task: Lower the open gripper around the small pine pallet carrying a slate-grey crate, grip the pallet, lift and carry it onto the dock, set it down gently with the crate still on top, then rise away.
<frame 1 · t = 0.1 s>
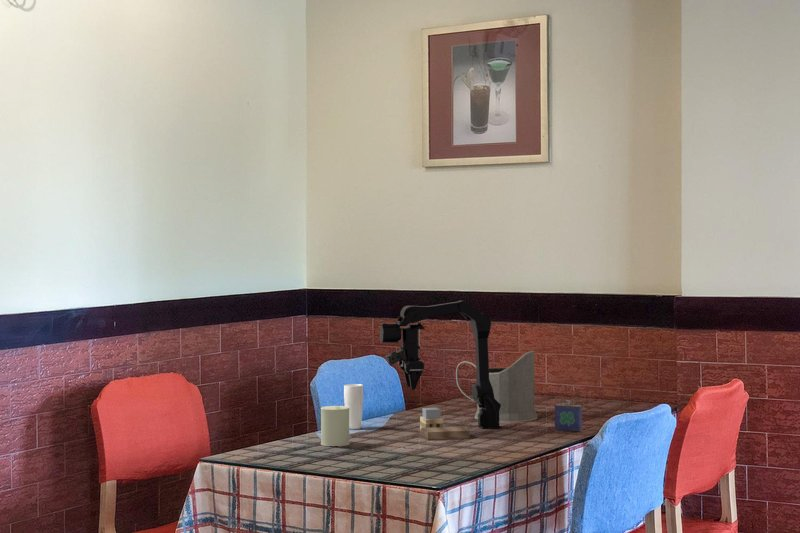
hand: (410, 388, 338), 14 cm above the table, tool pointing down, fingers open, 9 cm apart
crate: (431, 417, 334), point 5 cm above the table, touching pallet
dock: (445, 436, 325), on the table
can: (335, 444, 313), on the table
drinking glass: (353, 428, 344), on the table
pallet: (431, 432, 334), on the table, touching crate
pitcher: (495, 417, 369), on the table
flask: (568, 432, 334), on the table
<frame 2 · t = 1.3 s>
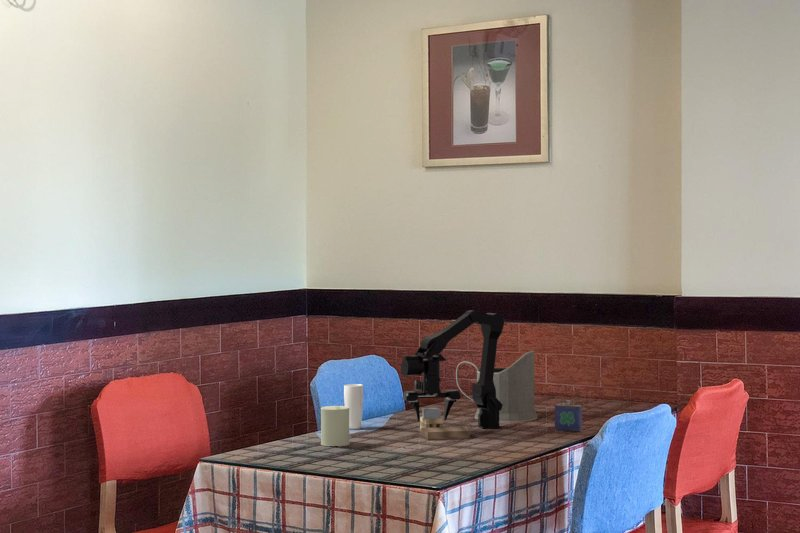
hand: (431, 420, 334), 4 cm above the table, tool pointing down, fingers open, 9 cm apart
nothing on the table moved.
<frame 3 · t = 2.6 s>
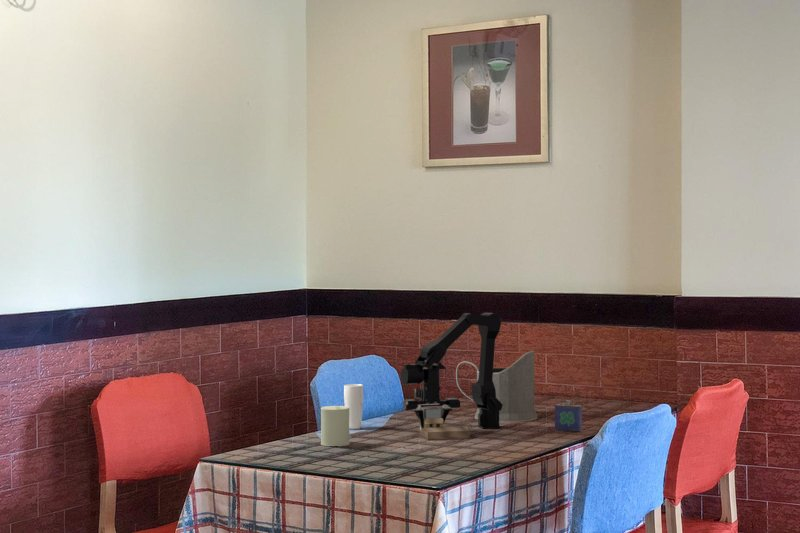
hand: (431, 429, 334), 1 cm above the table, tool pointing down, fingers closed on pallet, 6 cm apart
pallet: (431, 432, 334), on the table, touching crate, gripper
everything else where it was.
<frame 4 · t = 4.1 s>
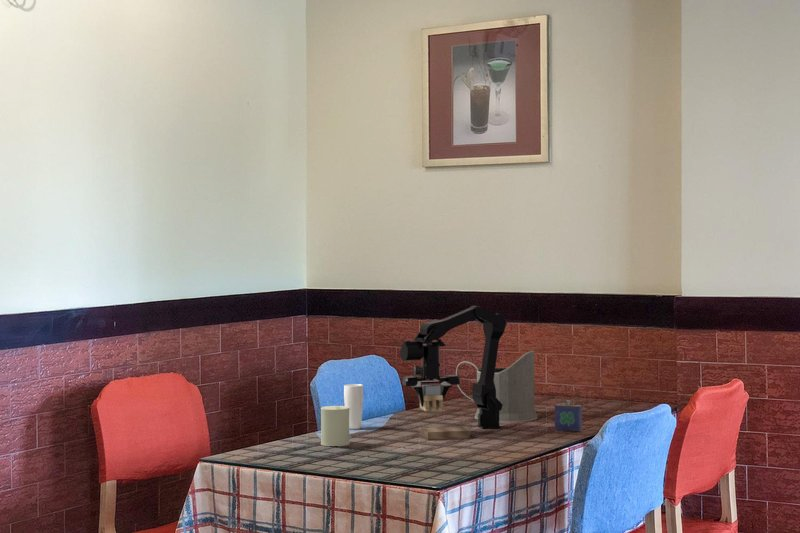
hand: (431, 406, 334), 9 cm above the table, tool pointing down, fingers closed on pallet, 6 cm apart
crate: (431, 394, 334), point 13 cm above the table, touching pallet
pallet: (431, 409, 334), point 8 cm above the table, touching crate, gripper
everything else where it was.
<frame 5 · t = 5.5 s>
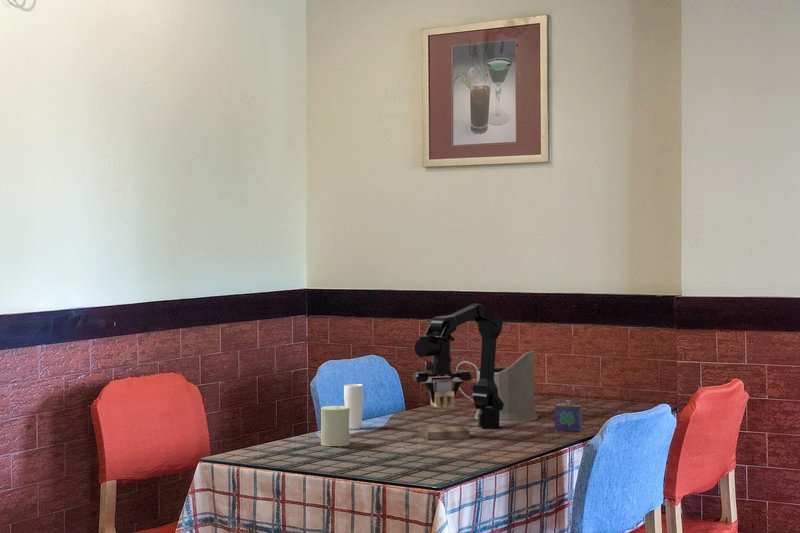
hand: (442, 402, 326), 11 cm above the table, tool pointing down, fingers closed on pallet, 6 cm apart
crate: (442, 390, 327), point 15 cm above the table, touching pallet
pallet: (442, 405, 326), point 10 cm above the table, touching crate, gripper
everything else where it was.
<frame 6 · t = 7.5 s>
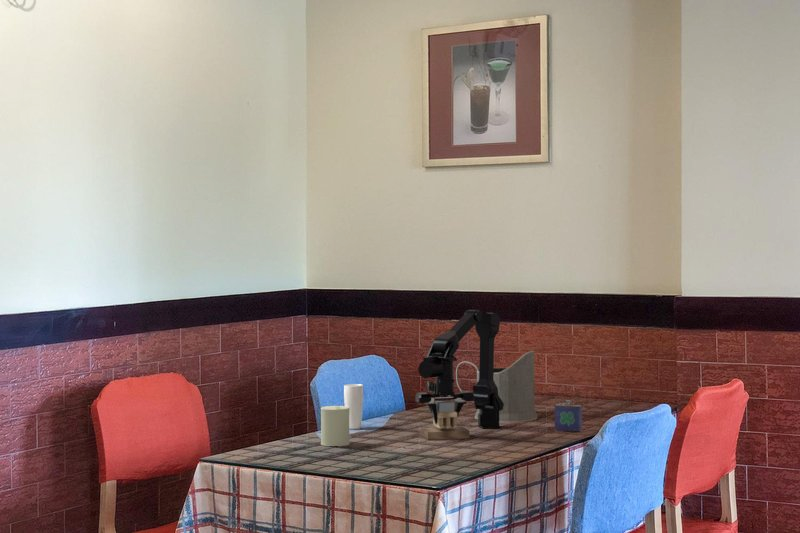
hand: (445, 423, 325), 4 cm above the table, tool pointing down, fingers closed on pallet, 6 cm apart
crate: (445, 411, 325), point 8 cm above the table, touching pallet
pallet: (445, 426, 325), point 3 cm above the table, touching crate, gripper
everything else where it was.
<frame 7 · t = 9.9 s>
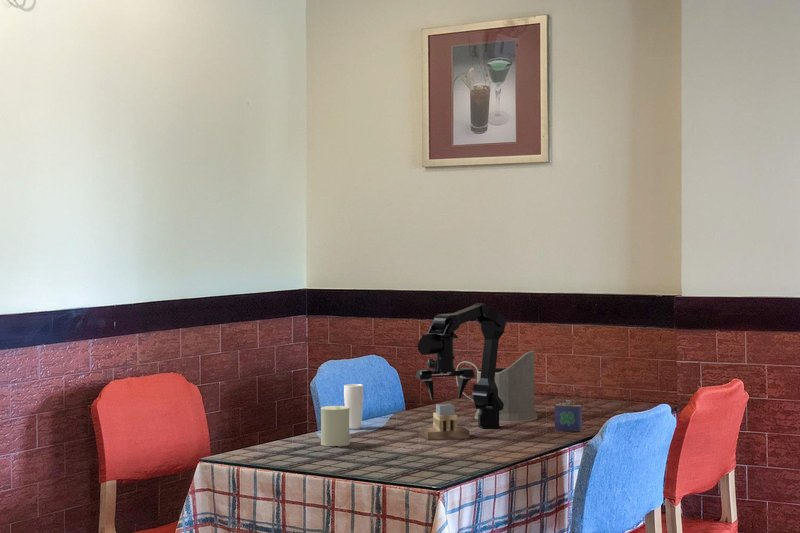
hand: (445, 399, 328), 12 cm above the table, tool pointing down, fingers open, 9 cm apart
pallet: (445, 429, 325), point 2 cm above the table, touching crate, dock
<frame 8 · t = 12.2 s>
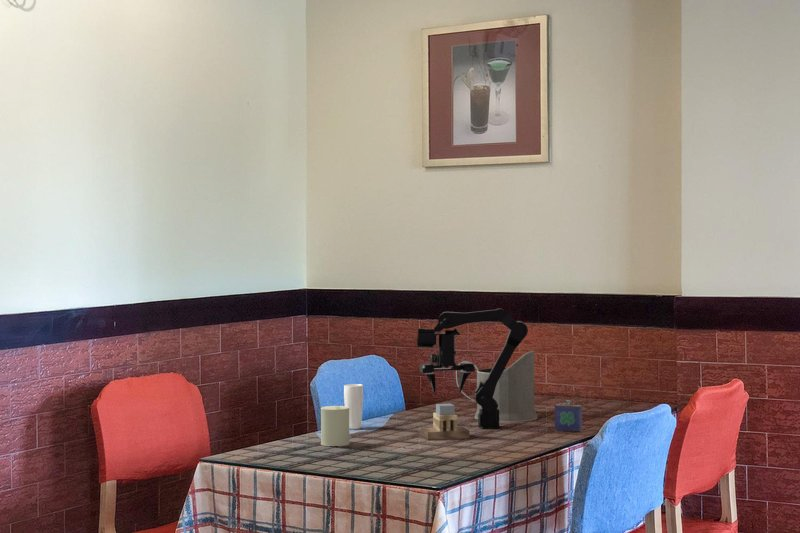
hand: (447, 392, 345), 12 cm above the table, tool pointing down, fingers open, 9 cm apart
nothing on the table moved.
at the end: pallet inside the target area on the dock (0.1 cm from its centre), point 2.5 cm above the dock's base; crate 0.1 cm off-centre on the pallet, point 5.0 cm above the pallet's base; the gripper is holding nothing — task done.
